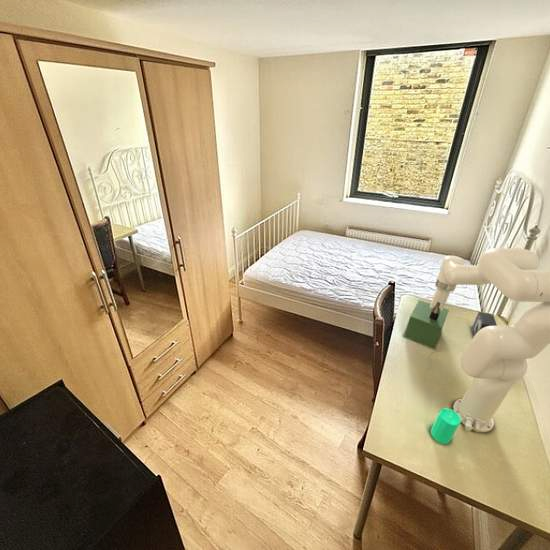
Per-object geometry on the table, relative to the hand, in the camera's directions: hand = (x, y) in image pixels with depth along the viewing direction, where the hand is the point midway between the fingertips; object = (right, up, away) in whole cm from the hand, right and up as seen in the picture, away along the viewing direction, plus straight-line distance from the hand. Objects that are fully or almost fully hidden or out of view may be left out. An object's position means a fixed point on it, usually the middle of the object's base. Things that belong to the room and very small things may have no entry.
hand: (433, 318), depth 132 cm
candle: (-16, -35, -33) cm, 51 cm away
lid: (+1, +1, +5) cm, 5 cm away
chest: (+1, -9, +11) cm, 14 cm away
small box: (+29, -10, +11) cm, 32 cm away
